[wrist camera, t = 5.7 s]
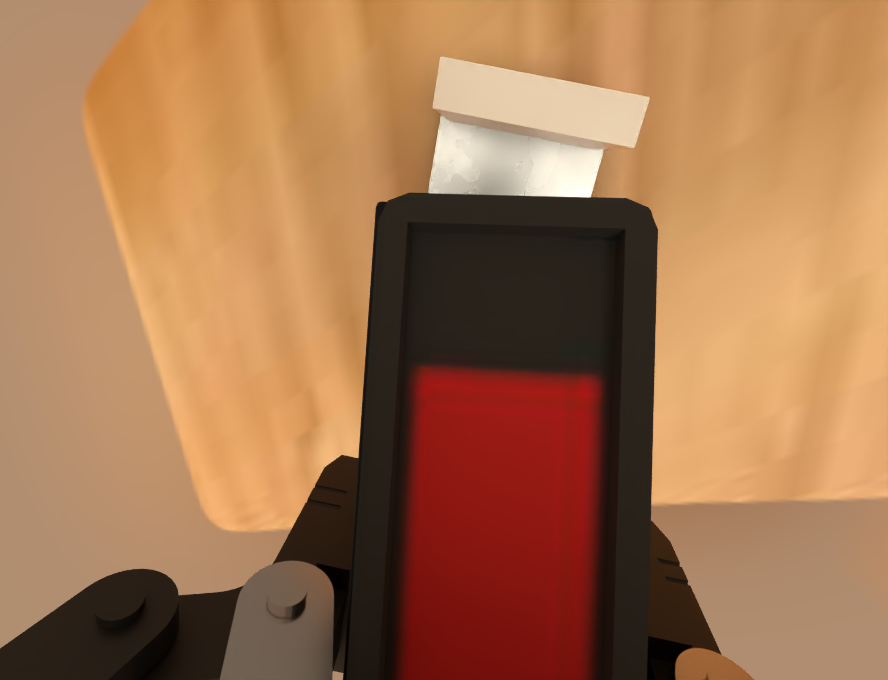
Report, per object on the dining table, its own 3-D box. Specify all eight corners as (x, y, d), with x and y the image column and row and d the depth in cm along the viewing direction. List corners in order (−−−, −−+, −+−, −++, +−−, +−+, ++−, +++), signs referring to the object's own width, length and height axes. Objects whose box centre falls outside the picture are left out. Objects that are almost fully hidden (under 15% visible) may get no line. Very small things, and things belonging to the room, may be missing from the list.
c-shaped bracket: (455, 84, 26) (440, 56, 18) (604, 113, 26) (650, 97, 18) (399, 409, 33) (372, 483, 26) (514, 433, 33) (521, 515, 26)
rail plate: (447, 84, 27) (446, 82, 26) (609, 116, 27) (614, 115, 26) (394, 400, 34) (392, 407, 33) (521, 427, 34) (522, 435, 33)
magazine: (431, 600, 20) (269, 1297, 5) (449, 278, 21) (364, 17, 6) (525, 610, 19) (667, 1385, 4) (539, 282, 20) (694, 16, 5)
